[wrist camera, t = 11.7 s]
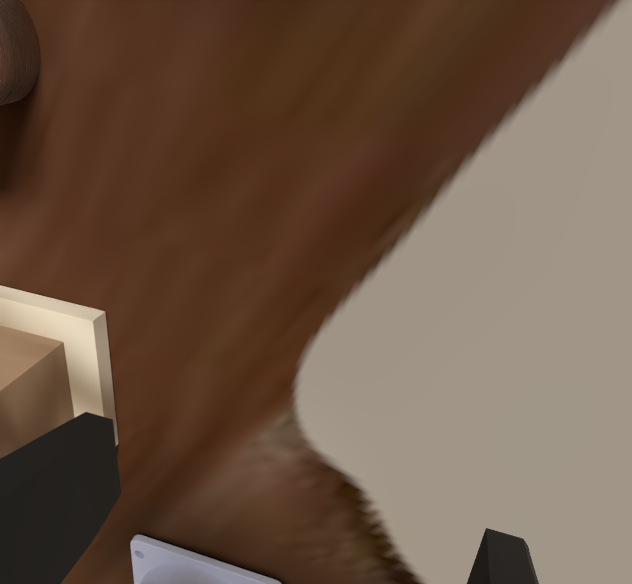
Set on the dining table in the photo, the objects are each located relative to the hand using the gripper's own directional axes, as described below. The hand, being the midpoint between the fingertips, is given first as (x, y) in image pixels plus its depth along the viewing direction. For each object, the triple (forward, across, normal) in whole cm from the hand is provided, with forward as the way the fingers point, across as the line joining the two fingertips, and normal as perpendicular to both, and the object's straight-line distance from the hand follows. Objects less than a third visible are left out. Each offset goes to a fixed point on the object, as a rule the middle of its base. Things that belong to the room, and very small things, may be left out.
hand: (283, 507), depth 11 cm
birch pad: (+9, +14, +7) cm, 18 cm away
